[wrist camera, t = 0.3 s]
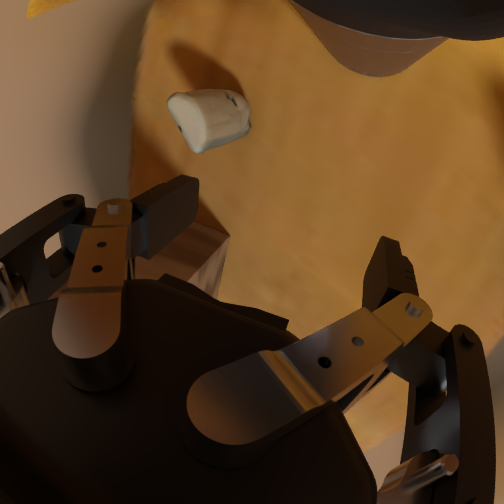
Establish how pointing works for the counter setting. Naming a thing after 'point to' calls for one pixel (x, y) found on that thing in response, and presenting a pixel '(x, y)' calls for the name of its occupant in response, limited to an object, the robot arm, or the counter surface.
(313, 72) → the counter surface
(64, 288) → the brown tall block
